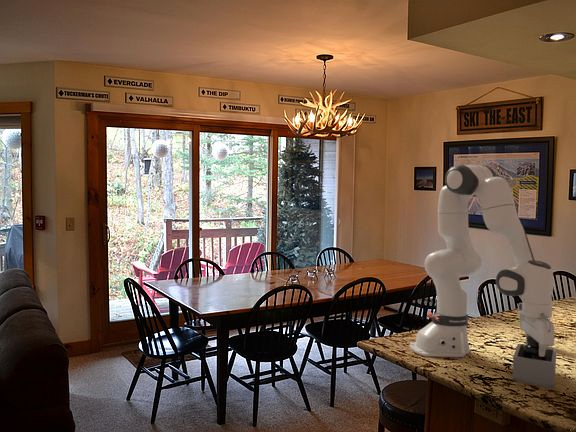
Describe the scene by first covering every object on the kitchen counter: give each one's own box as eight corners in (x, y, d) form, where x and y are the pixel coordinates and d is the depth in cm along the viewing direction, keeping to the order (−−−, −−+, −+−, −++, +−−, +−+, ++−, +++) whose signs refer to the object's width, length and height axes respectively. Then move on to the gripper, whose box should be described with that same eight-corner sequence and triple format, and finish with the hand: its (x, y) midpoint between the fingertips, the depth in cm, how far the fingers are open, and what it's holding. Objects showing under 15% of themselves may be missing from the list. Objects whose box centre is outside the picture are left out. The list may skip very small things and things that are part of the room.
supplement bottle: (548, 373, 171) (549, 337, 171) (541, 378, 167) (542, 342, 166) (527, 367, 176) (528, 333, 176) (519, 372, 171) (520, 337, 171)
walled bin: (553, 388, 162) (554, 363, 161) (512, 380, 167) (513, 356, 167) (555, 372, 176) (556, 349, 175) (517, 365, 181) (518, 343, 181)
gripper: (561, 318, 159) (559, 362, 160) (535, 303, 180) (533, 342, 181) (540, 318, 160) (538, 361, 161) (516, 302, 180) (514, 341, 181)
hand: (535, 351), depth 171 cm, fingers open, 8 cm apart
